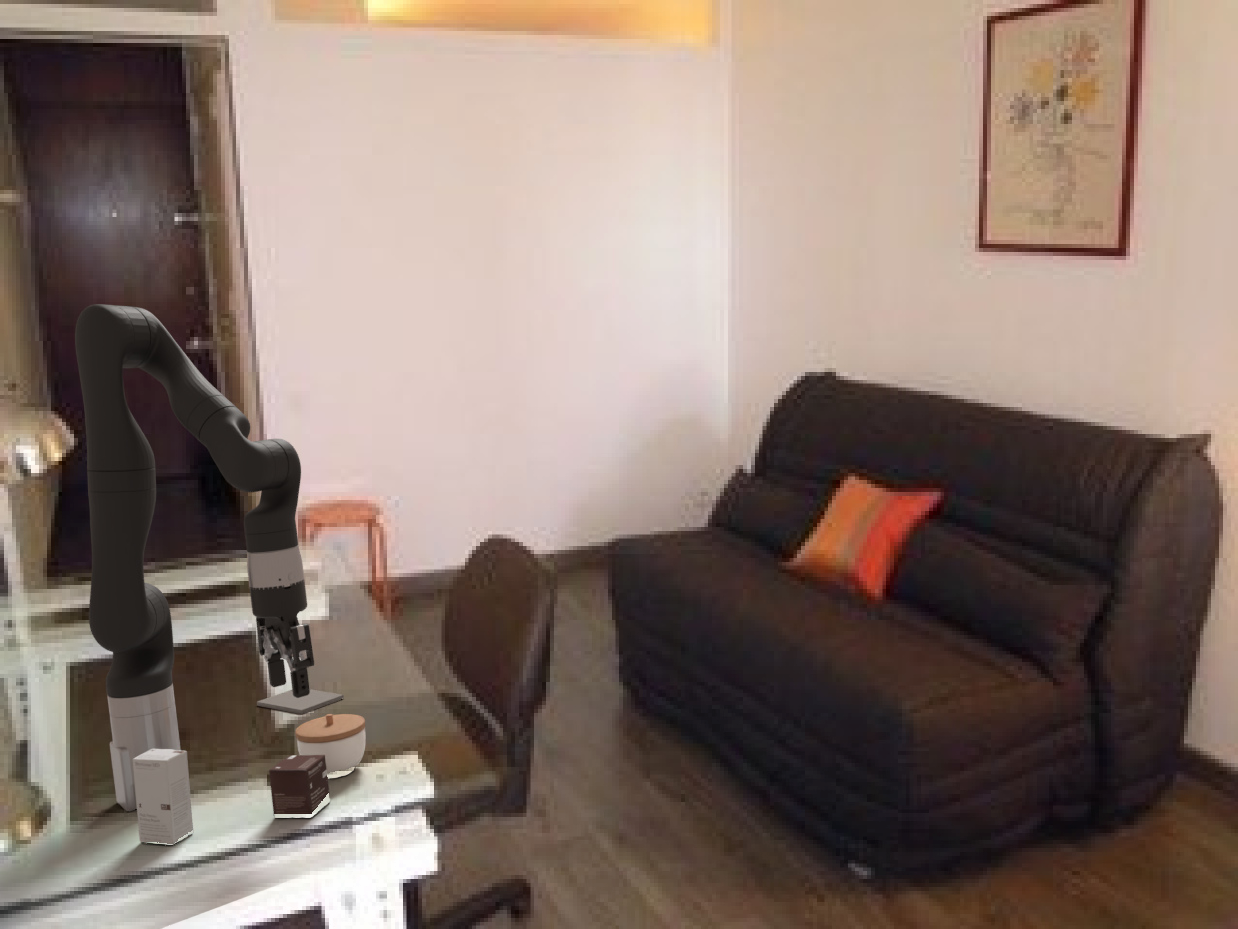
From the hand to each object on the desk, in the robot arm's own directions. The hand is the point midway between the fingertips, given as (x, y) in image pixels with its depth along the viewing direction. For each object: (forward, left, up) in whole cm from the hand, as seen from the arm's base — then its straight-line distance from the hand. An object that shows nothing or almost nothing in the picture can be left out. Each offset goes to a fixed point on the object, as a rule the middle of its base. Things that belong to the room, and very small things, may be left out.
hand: (289, 690), depth 152 cm
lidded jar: (+10, +11, -18) cm, 23 cm away
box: (0, 0, -18) cm, 18 cm away
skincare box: (-17, +6, -18) cm, 26 cm away
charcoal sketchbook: (+22, +54, -18) cm, 61 cm away
